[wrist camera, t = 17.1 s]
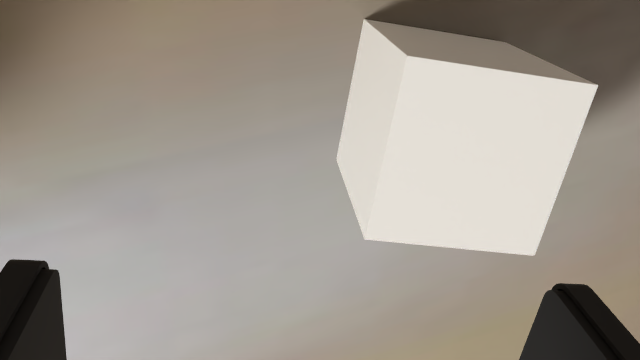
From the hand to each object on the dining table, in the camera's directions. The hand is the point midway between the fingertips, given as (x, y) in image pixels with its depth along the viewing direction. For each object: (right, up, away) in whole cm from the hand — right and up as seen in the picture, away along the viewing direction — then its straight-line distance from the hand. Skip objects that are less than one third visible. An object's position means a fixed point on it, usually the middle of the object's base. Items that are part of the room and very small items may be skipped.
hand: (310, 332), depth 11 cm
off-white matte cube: (+5, +7, +19) cm, 22 cm away
